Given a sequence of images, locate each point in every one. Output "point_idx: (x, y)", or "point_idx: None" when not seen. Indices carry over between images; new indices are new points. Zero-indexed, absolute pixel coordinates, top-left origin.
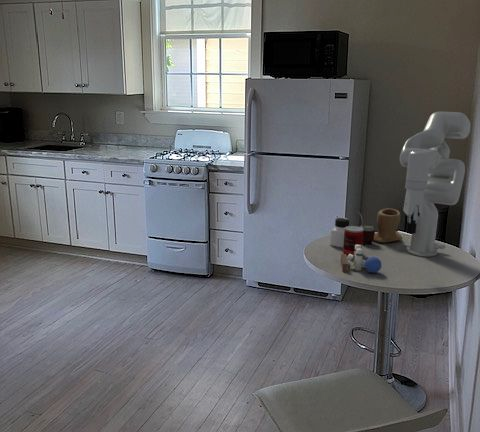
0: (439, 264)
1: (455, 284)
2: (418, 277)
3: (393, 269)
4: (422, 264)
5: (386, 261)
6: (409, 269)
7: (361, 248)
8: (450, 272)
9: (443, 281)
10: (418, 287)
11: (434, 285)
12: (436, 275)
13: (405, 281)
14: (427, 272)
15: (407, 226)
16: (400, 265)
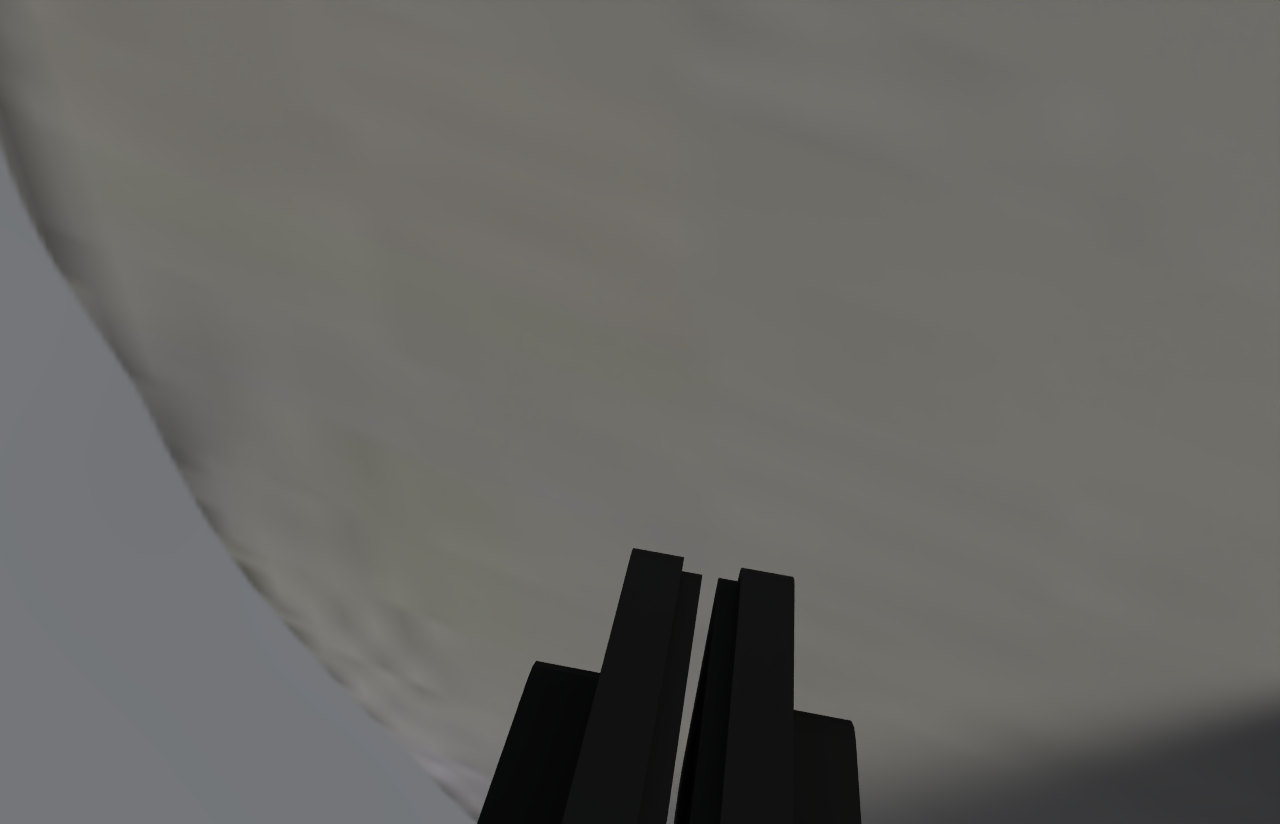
0: (1009, 766)
1: (318, 643)
2: (474, 319)
3: (804, 34)
4: (1027, 573)
5: (1264, 30)
6: (808, 310)
7: None
8: None
9: (386, 564)
10: (86, 178)
11: (221, 411)
12: (585, 571)
13: (268, 63)
14: (690, 510)
15: (591, 727)
16: (1007, 230)
